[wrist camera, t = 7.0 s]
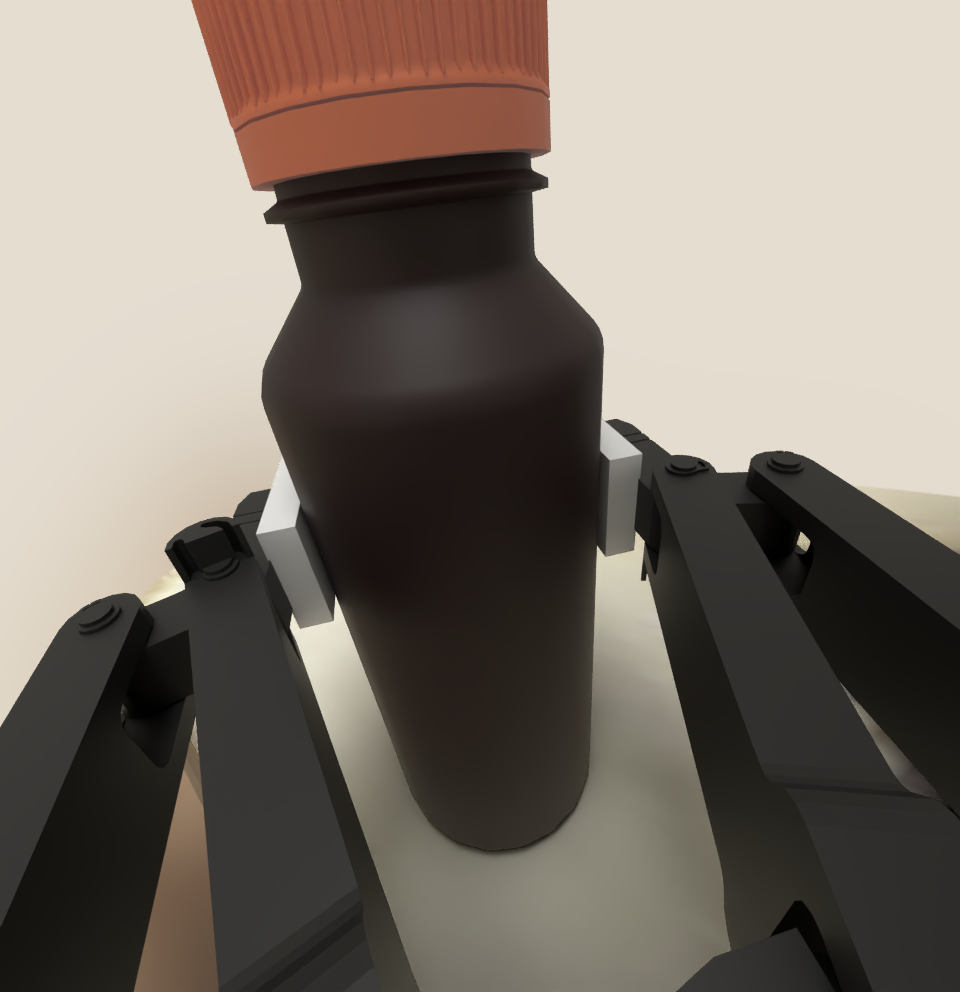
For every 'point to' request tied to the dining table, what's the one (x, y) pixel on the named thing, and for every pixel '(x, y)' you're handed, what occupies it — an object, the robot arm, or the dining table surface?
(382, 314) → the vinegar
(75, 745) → the robot arm
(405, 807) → the dining table surface
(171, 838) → the door rail
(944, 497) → the dining table surface
